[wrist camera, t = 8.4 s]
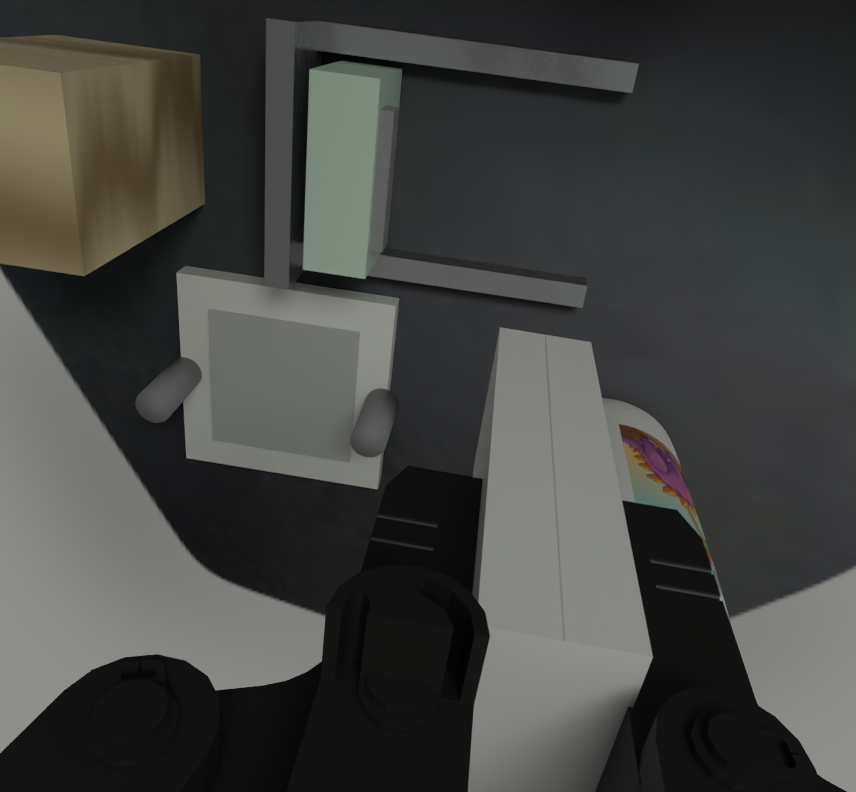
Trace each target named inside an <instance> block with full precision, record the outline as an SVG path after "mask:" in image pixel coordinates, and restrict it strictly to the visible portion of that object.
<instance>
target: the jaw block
mask: <svg viewBox="0 0 856 792" xmlns="http://www.w3.org/2000/svg"><path fill="white" fill-rule="evenodd" d="M204 204H205V191H204V160H203V130H202V99H201V68H200V54H193V53H186V52H178V51H171V50H164V49H156V48H149V47H142V46H134V45H127V44H120V43H112V42H105V41H98V40H91V39H83V38H76V37H69V36H61V35H42V36H22V37H2V38H0V263H1V264H7V265H14V266H20V267H27V268H33V269H40V270H47V271H53V272H60V273H66V274H73V275H79V276H86V275H87V274H89V273H91V272H92V271H94V270H96V269H97V268H99V267H101V266H102V265H104V264H105V263H107V262H109V261H110V260H112V259H114V258H115V257H117V256H119V255H120V254H122V253H124V252H125V251H127V250H129V249H130V248H132V247H134V246H135V245H137V244H139V243H140V242H142V241H144V240H145V239H147V238H149V237H150V236H152V235H154V234H155V233H157V232H159V231H160V230H162V229H164V228H165V227H167V226H169V225H170V224H172V223H174V222H175V221H177V220H179V219H180V218H182V217H184V216H185V215H187V214H189V213H190V212H192V211H194V210H195V209H197V208H199V207H200V206H202V205H204Z"/></svg>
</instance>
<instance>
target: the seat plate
mask: <svg viewBox="0 0 856 792" xmlns="http://www.w3.org/2000/svg"><path fill="white" fill-rule="evenodd" d="M176 275H177V294H178V312H179V331H180V349H181V357H179V358H176V359H174V360H173V361H172V362H171V363H170V364H169V365H168V366H167V367H166V368H165V369H164V370H163V371H162V372H161V373H160V374H159V375H158V376H157V377H156V378H155V379H154V380H153V381H152V382H151V383H150V384H149V385H148V386H147V387H146V388H145V389H144V390H143V391H142V392H141V393H140V394H139V395H138V396H137V398H136V402H135V405H136V409H137V411H138V412H139V414H140V415H141V416H142V417H143V418H144V419H146V420H148V421H150V422H154V423H161V422H164V421H166V420H167V419H168V418H169V417H170V416H171V415H172V413H173V412H174V411H175V410H176V409H177V408H178V407H179V405H180V404H181V403H182V402H183V405H184V424H185V442H186V458H190V459H196V460H202V461H208V462H214V463H220V464H226V465H232V466H238V467H244V468H250V469H257V470H263V471H269V472H275V473H281V474H287V475H293V476H299V477H305V478H311V479H317V480H323V481H329V482H335V483H342V484H348V485H354V486H360V487H366V488H372V489H378V486H379V483H380V480H381V473H382V463H383V454H384V450H385V448H386V445H387V442H388V439H389V435H390V432H391V429H392V426H393V423H394V420H395V416H396V413H397V410H398V406H399V403H398V399H397V397H396V396H395V395H394V394H393V393H392V392H391V391H390V385H391V375H392V365H393V355H394V346H395V336H396V326H397V316H398V306H399V298H394V297H388V296H381V295H375V294H368V293H361V292H355V291H348V290H342V289H335V288H328V287H322V286H315V285H309V284H302V283H294V284H293V285H292V287H291V288H290V289H289V290H286V289H279V288H273V287H266V286H264V278H262V277H256V276H249V275H243V274H236V273H229V272H223V271H216V270H210V269H203V268H196V267H190V266H185V267H183V268H182V269H181V270H179V271H178V272H177V273H176Z"/></svg>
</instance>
